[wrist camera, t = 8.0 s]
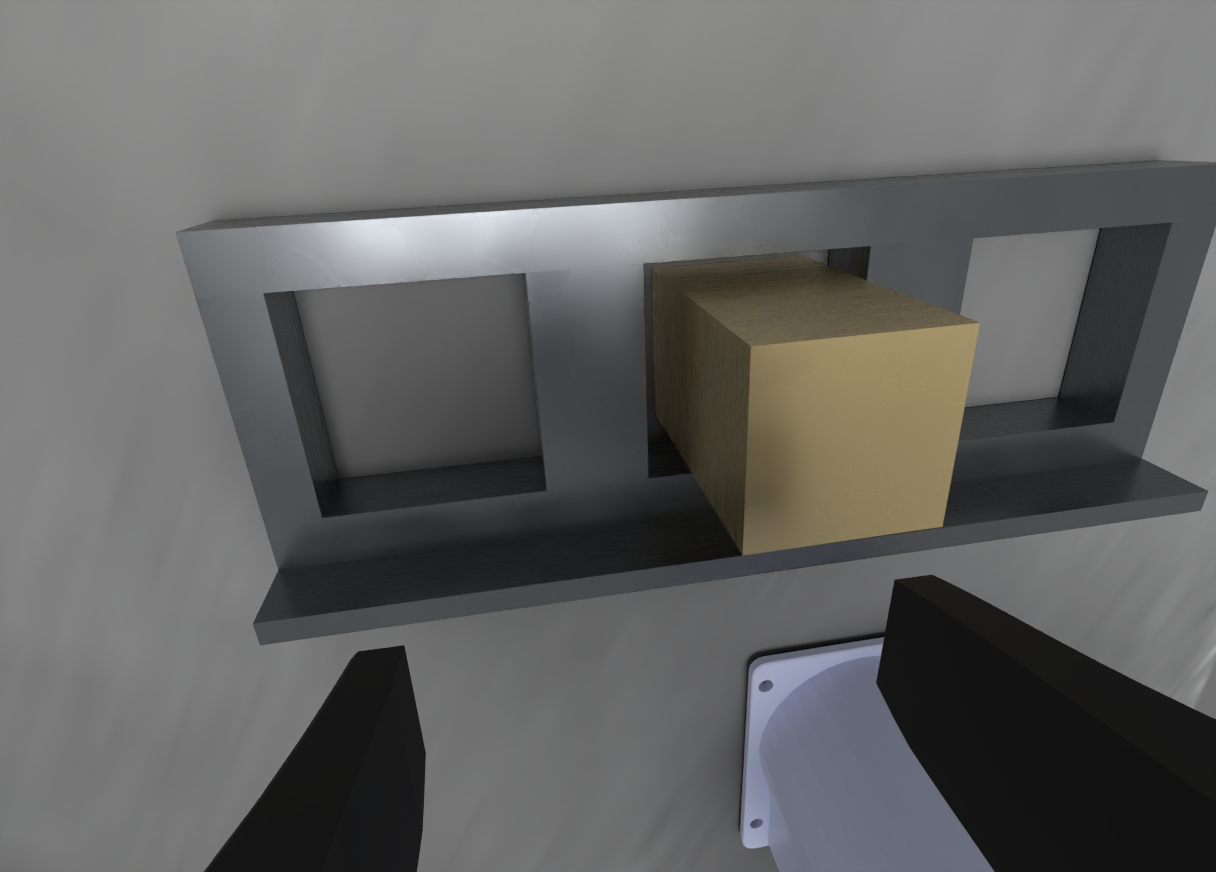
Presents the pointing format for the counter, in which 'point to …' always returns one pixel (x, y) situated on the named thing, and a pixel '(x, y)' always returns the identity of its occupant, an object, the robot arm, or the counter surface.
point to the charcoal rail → (616, 382)
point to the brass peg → (809, 398)
